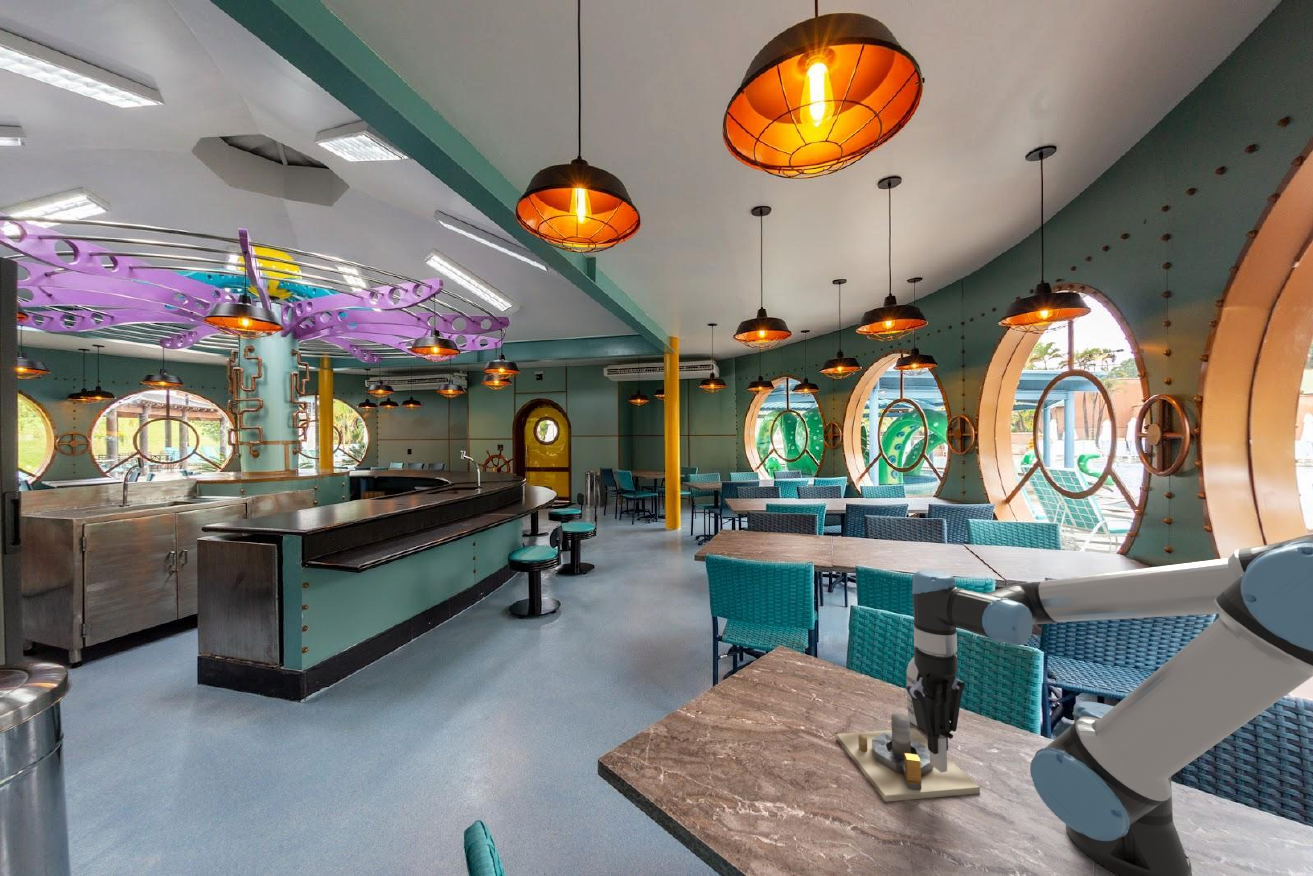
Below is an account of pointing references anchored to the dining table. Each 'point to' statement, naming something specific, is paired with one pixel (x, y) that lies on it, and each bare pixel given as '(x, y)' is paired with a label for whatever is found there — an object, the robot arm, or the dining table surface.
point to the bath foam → (911, 681)
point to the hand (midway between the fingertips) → (938, 767)
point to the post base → (897, 780)
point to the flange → (903, 759)
